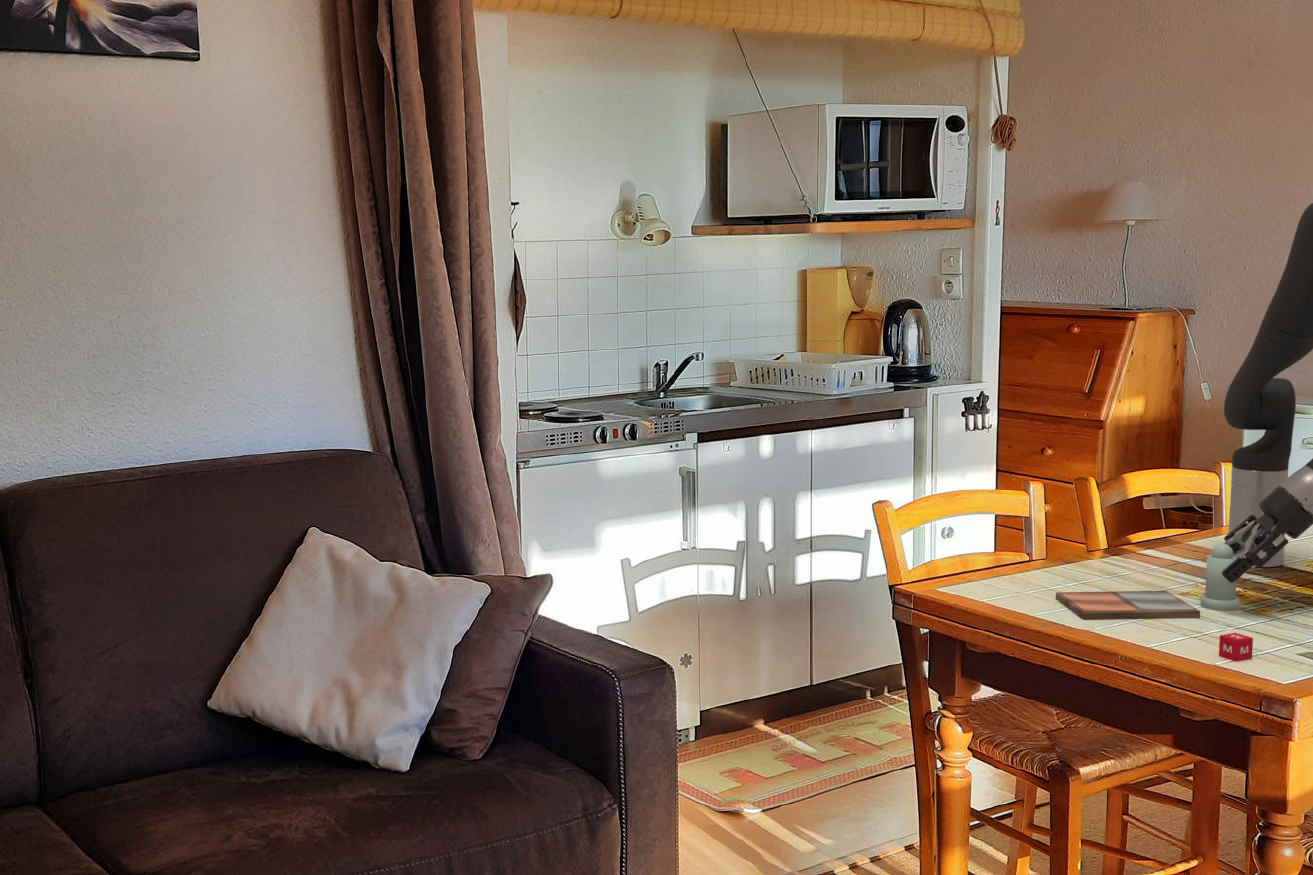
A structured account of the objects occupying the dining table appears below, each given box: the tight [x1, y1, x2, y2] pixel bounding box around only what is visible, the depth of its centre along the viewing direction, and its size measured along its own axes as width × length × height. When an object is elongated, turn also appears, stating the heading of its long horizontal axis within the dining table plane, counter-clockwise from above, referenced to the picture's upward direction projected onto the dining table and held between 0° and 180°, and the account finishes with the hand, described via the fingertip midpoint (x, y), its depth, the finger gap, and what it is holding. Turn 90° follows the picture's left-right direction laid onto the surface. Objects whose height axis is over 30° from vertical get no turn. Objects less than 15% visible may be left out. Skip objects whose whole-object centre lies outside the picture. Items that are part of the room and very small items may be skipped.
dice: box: [1218, 632, 1254, 662], centre depth 187 cm, size 3×3×3 cm
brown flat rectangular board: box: [1055, 590, 1201, 621], centre depth 213 cm, size 13×18×1 cm
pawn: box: [1200, 542, 1240, 612], centre depth 213 cm, size 6×6×10 cm
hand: (1218, 572), depth 213 cm, fingers open, 8 cm apart
